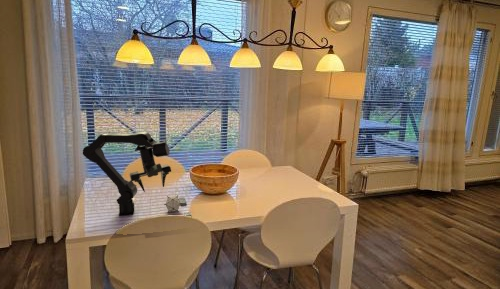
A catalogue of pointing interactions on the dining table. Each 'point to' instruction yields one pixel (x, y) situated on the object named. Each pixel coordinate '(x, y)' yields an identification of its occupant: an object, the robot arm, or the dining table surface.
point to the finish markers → (183, 201)
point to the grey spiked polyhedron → (172, 203)
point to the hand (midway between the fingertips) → (153, 189)
